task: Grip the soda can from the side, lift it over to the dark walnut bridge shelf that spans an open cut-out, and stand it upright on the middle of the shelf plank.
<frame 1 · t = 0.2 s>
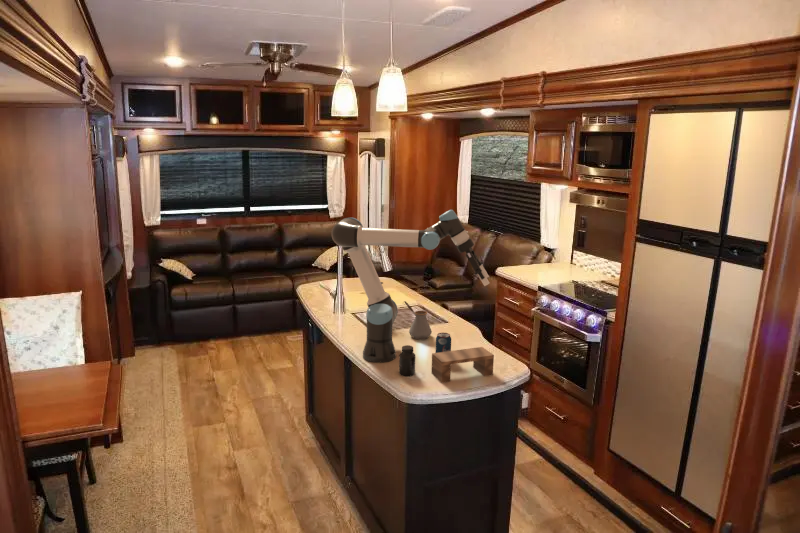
hand: (486, 281, 249), 35 cm above the countertop, tool tilted 35°, fingers open, 13 cm apart
french press: (379, 323, 296), on the countertop
coffee pot: (414, 334, 280), on the countertop
bridge shelf: (462, 374, 232), on the countertop
supplement bottle: (407, 374, 232), on the countertop
soda can: (442, 360, 247), on the countertop
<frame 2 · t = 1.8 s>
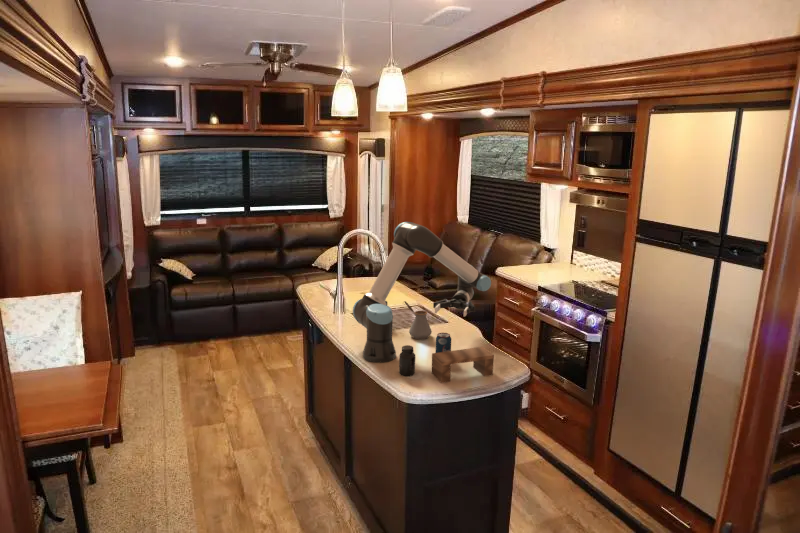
hand: (449, 312, 252), 20 cm above the countertop, tool horizontal, fingers open, 13 cm apart
nothing on the countertop moved.
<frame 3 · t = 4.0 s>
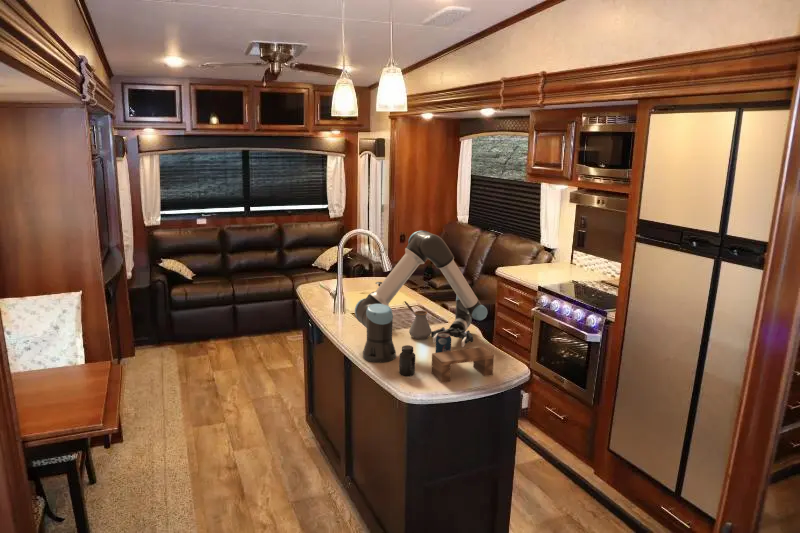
hand: (447, 342, 251), 6 cm above the countertop, tool horizontal, fingers open, 13 cm apart
nothing on the countertop moved.
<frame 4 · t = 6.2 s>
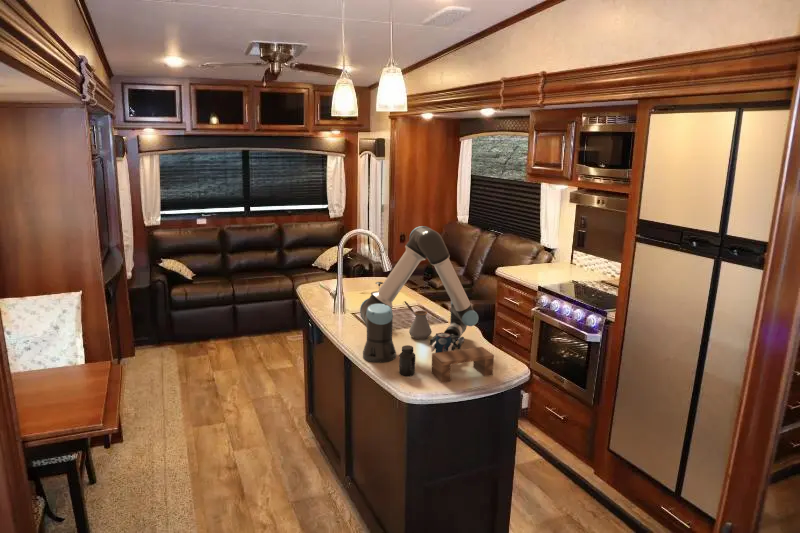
hand: (440, 349, 241), 7 cm above the countertop, tool horizontal, fingers closed on soda can, 7 cm apart
soda can: (442, 360, 247), on the countertop, touching gripper
everything else where it was.
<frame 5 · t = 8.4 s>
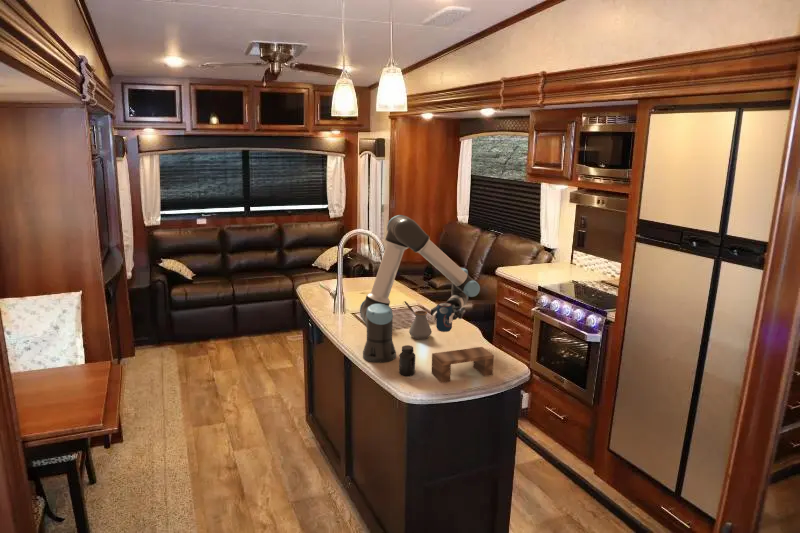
hand: (441, 319, 238), 21 cm above the countertop, tool horizontal, fingers closed on soda can, 7 cm apart
soda can: (443, 330, 244), point 14 cm above the countertop, touching gripper
everything else where it was.
when the fingers open (17 cm above the countertop, at t = 10.9 s): soda can drops 1 cm, resting on bridge shelf.
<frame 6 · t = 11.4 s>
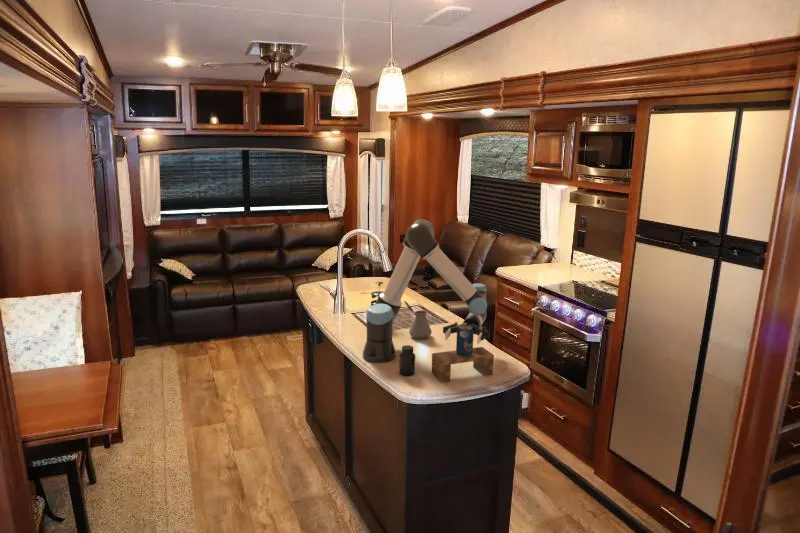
hand: (461, 338, 225), 17 cm above the countertop, tool horizontal, fingers open, 13 cm apart
soda can: (464, 354, 230), point 9 cm above the countertop, touching bridge shelf
everything else where it was.
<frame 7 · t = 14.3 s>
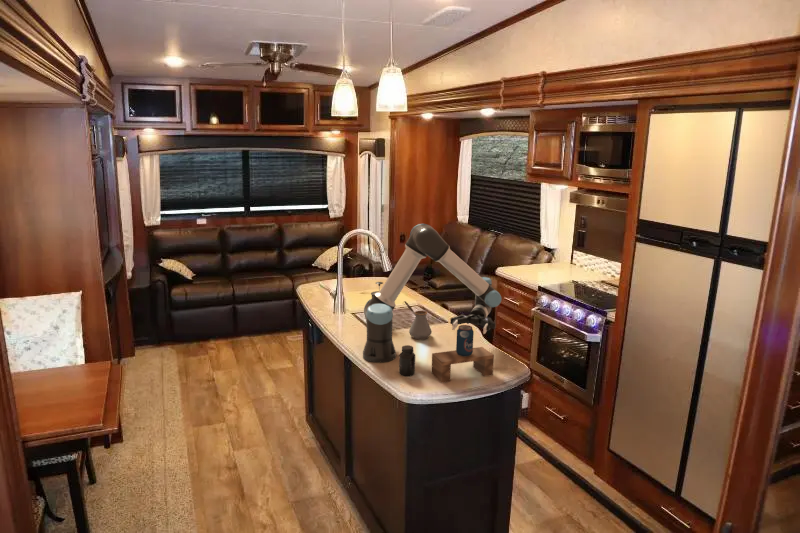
hand: (468, 329, 237), 17 cm above the countertop, tool horizontal, fingers open, 13 cm apart
nothing on the countertop moved.
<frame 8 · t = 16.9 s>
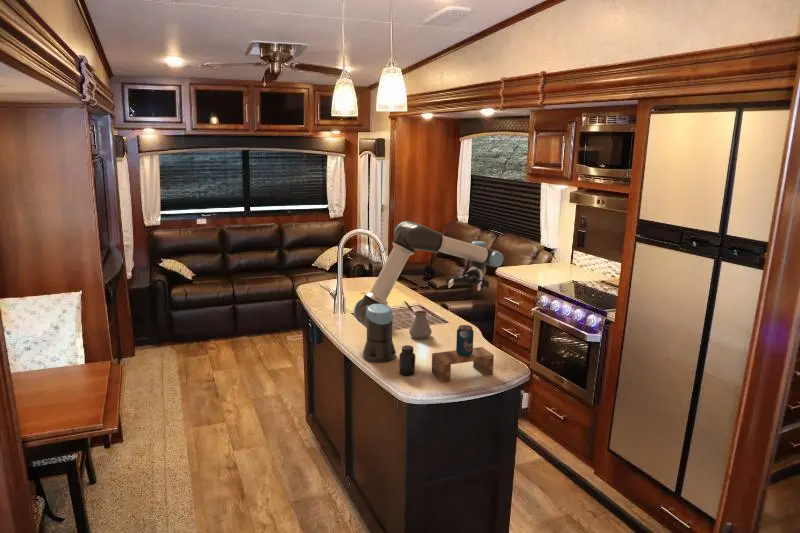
hand: (463, 286, 249), 32 cm above the countertop, tool horizontal, fingers open, 13 cm apart
nothing on the countertop moved.
at the end: soda can inside the target area on the bridge shelf (0.5 cm from its centre), point 8.8 cm above the bridge shelf's base; soda can tilted 0°; the gripper is holding nothing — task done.
